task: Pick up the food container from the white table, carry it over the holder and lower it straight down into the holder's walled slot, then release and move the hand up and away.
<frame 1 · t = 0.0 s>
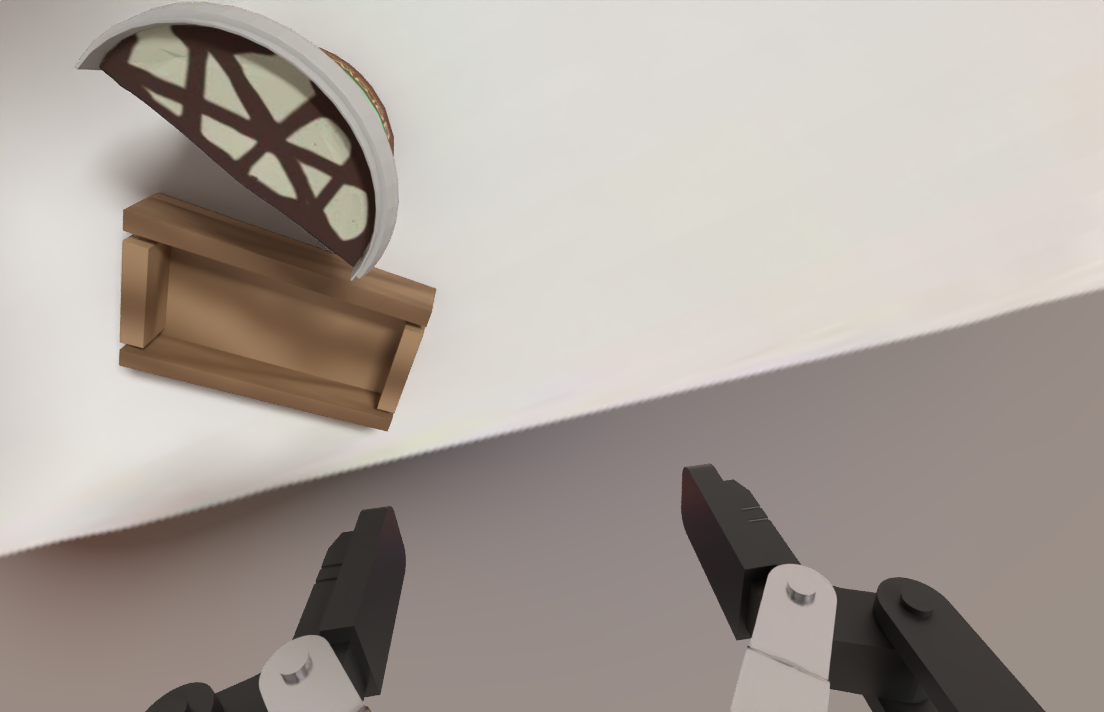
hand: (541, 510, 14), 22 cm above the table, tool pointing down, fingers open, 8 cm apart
food container: (340, 101, 27), on the table
holder: (293, 313, 34), on the table
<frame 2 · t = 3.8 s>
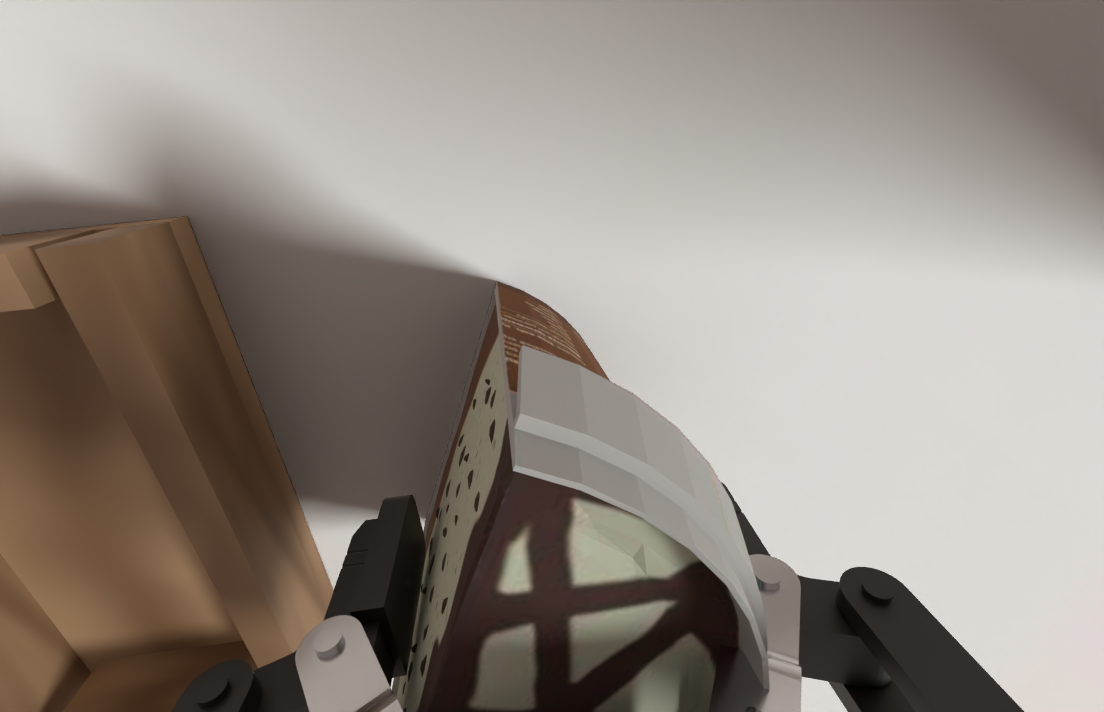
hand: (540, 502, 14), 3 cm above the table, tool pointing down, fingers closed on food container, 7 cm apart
food container: (545, 429, 17), on the table, touching gripper
holder: (124, 486, 16), on the table
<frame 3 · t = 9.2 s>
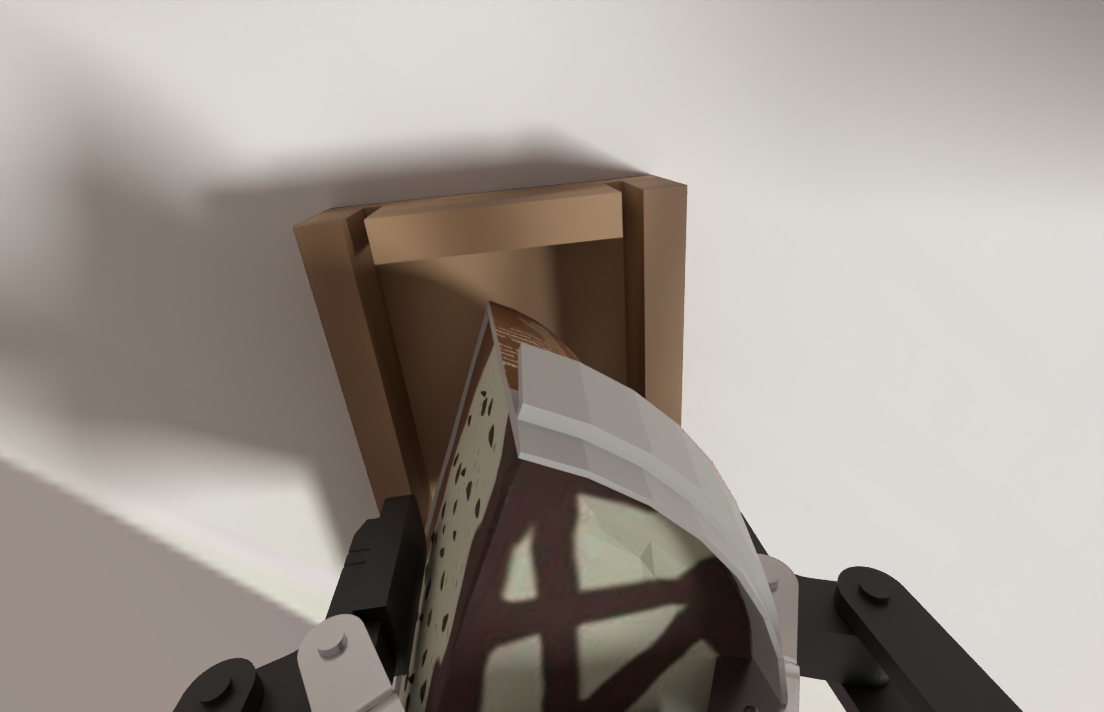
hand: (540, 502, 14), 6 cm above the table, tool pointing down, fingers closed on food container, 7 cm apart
food container: (540, 450, 17), point 3 cm above the table, touching gripper, holder
holder: (522, 408, 20), on the table
when the fingers open (6 cm above the table, at t = 10.1 s): food container stays where it is, resting on holder.
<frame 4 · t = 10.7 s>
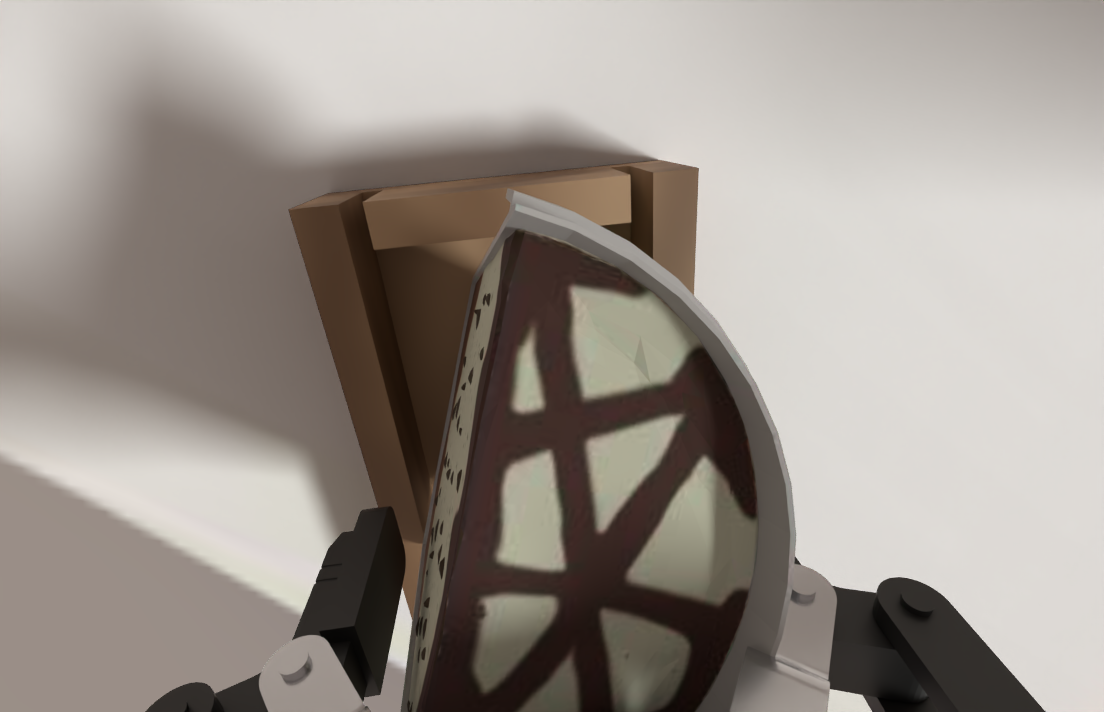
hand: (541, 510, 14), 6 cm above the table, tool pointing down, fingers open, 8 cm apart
food container: (534, 427, 17), point 2 cm above the table, touching holder
holder: (525, 402, 19), on the table
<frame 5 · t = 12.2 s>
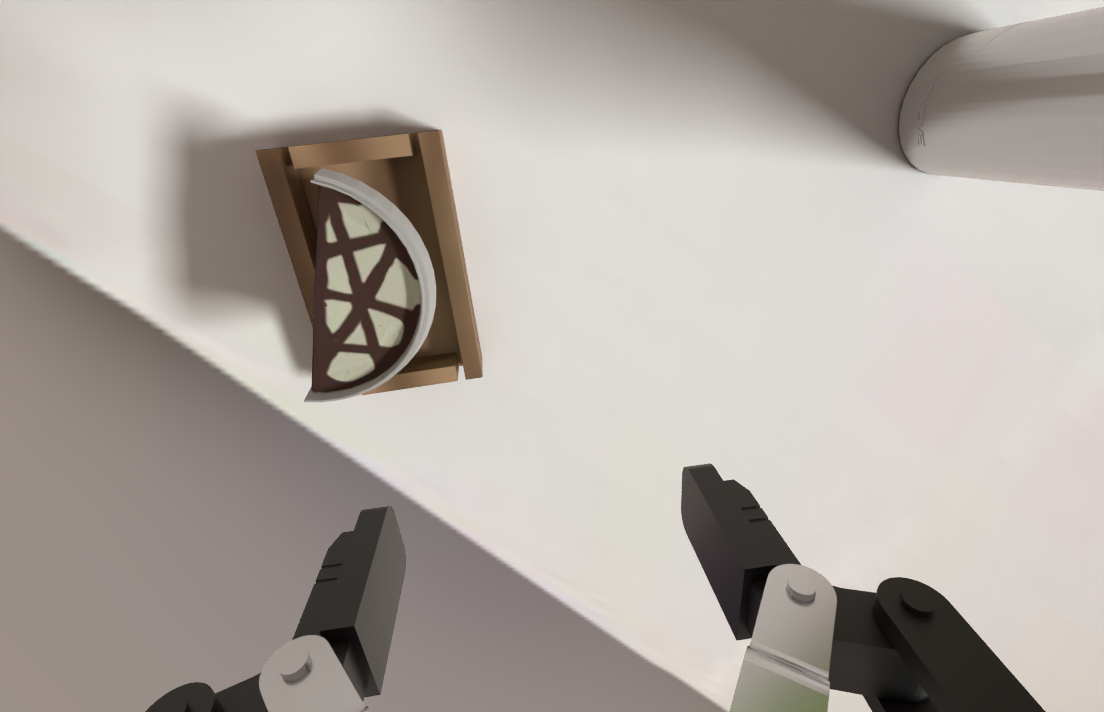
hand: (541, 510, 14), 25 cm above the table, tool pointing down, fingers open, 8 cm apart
food container: (394, 268, 35), point 1 cm above the table, touching holder
holder: (390, 265, 35), on the table
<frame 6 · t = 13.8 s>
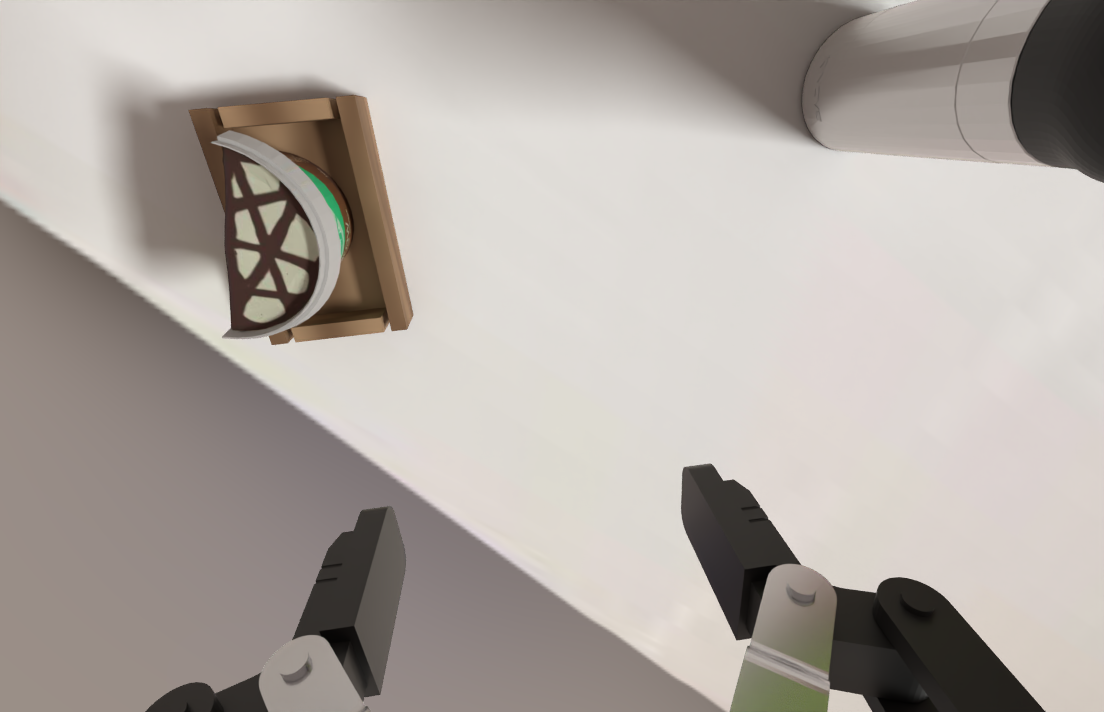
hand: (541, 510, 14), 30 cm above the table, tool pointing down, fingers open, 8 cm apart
food container: (328, 225, 38), point 1 cm above the table, touching holder
holder: (323, 223, 38), on the table
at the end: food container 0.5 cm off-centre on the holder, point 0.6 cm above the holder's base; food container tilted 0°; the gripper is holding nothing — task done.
